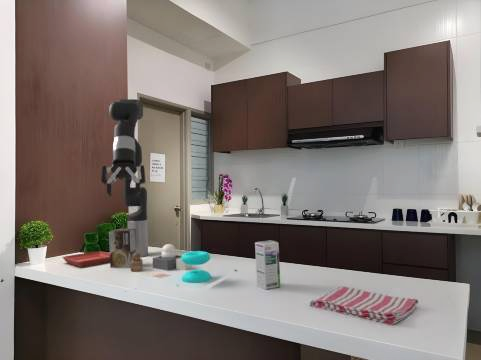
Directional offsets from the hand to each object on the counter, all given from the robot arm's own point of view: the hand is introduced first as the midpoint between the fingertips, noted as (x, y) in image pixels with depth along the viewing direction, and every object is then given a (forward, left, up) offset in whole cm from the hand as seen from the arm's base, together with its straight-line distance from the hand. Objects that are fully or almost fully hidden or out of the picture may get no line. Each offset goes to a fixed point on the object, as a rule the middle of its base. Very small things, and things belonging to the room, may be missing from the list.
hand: (123, 195), depth 124 cm
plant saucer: (-50, +15, -32) cm, 61 cm away
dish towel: (+72, +25, -32) cm, 82 cm away
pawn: (-13, +14, -30) cm, 35 cm away
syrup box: (+40, +27, -31) cm, 57 cm away
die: (0, +26, -30) cm, 39 cm away
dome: (-7, +25, -27) cm, 37 cm away
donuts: (+16, +18, -31) cm, 39 cm away
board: (-6, +20, -31) cm, 37 cm away
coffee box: (-25, +16, -31) cm, 43 cm away
